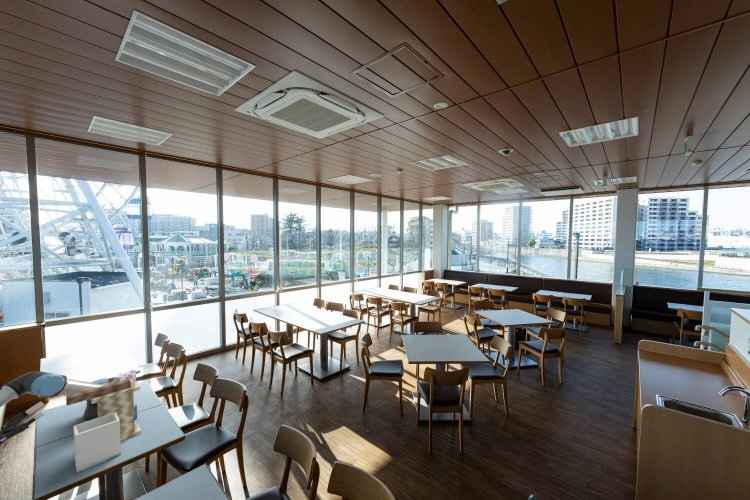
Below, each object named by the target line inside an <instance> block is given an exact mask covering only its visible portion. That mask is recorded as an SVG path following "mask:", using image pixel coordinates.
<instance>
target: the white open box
mask: <svg viewBox="0 0 750 500" xmlns="http://www.w3.org/2000/svg"><path fill="white" fill-rule="evenodd" d="M72 428H73V449H74V450H73V451H74V452H73V453H74V465H75V472H76V473H79V472H81V471H84V470H86V469H89V468H91V467H94V466H96V465H99V464H101V463H104V462H106V461H108V460H111V459H113V458H116V457H118V456H121V455H122V448H121V447H122V445H121V442H122V441H120V420H119V417H118V415H117V413H116V412H114V413H111V414H108V415H105V416H102V417H99V418H96V419H93V420H86V421H84V422H81V423H77V424H75V425H73V427H72Z"/></svg>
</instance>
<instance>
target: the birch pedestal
mask: <svg viewBox="0 0 750 500" xmlns="http://www.w3.org/2000/svg"><path fill="white" fill-rule="evenodd" d="M140 390H141V387H140V384H139V383H138V382H137V381H136V382H133V383H131V387H130V388H127V389H123V390H120V391H116V392H113V393H109V394H106V395H102V396H99V397H95V398H92V399H91V402H92V404H94V403H97V405H98V418H99V417H102V416H105V415H108V414H111V413H114V412H116V413H117V415H118V417H119V420H120V442H122V441H124V440H128V439H130V438H133V437H135V436H138V435H141V434H142V429H141V427H140V425H139V423H136V424H135V421H134V405H135V403H134V402H135V401H134V400H135V399H134V396H135V395H134V392H137V391H140Z"/></svg>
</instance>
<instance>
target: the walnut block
mask: <svg viewBox="0 0 750 500" xmlns="http://www.w3.org/2000/svg"><path fill="white" fill-rule="evenodd" d="M112 383H113V382H112ZM130 387H131V381H130V379H127V380H124V381H120V382H116V383H113V384H109V385H105V386H102V387H98V388H94V389H90V390H87V391H83V392H79V393H76V394H72V395H68V396H67V395H65V401H66V403H65V404H66V407H67V406H71V405H74V404H79V403H82V402H84V401H86V400H89V399H92V398H95V397H99V396H102V395H106V394H109V393H113V392H116V391H120V390H123V389H127V388H130Z"/></svg>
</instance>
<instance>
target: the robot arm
mask: <svg viewBox="0 0 750 500" xmlns="http://www.w3.org/2000/svg"><path fill="white" fill-rule="evenodd" d="M109 384H113V382H112V383H111V382H110V380H109V378H100V379H97V380H94V381H91V382H89V381H84V380H76V379H70V378H68V377H67V375H63V374H59V373H55V372H45V371H41V370H40V371H39V370H37V371H35V370H33V371H29V372H27V373H25V374H22V375H20V376H18V377H17V378H15V379H13V380H11V381H9V382H7V383H5V385H3V386H2V387H1V389H0V408H1V407H4V406H5V405H6V404H8V403H9V402H11V401H12V400H15V399H16V400H17V399H18V398H20V397H22V396H24V395H26V394H29V395H33V396H38V397H51V398H53V397H56V396H58V395H60V396H68V395H72V394H76V393H79V392H83V391H87V390H90V389H94V388H98V387H102V386H105V385H109ZM85 401H86V406H85V410H84V413H83V415H82V416H83V420H84V421H90V420H93V419H96V418H98V405H97V403H94V404H92V402H91V399H89V400H85ZM43 406H45V403H43V402H42V401H39V402H37V403H36V404H34V405H33V406H31V407H30V408H28V409H27V410H22V411H20V413H18V414H17V415H16V416H15V417H13V418H12V419H11V420H9V421H8V422H7V423H6V424H4V425H3V426H1V427H0V446H1V445H3V444H4V443H5V442H6V441H7V440H9V439H10V438H13V437H15V436H17V435H18V434H20V433H22V432H25V431H26V430H28V429H29V428H30V426H31V425H32V424H33V423H35V422H36V421H38V420H39V419H40V418H42V417H44V416H46V414H45V412H43V411H42V410H39V409H41V408H42V407H43ZM37 410H39V411H38V412H37V413H35V412H36V411H37ZM33 413H35V414H34V415H32V416H31V417H30V418H28V419H27V420H25V421H24V422H23V423H21V422H22V421H23V420H24V419H26V417H27V416H30V415H31V414H33ZM20 423H21V424H20Z"/></svg>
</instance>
